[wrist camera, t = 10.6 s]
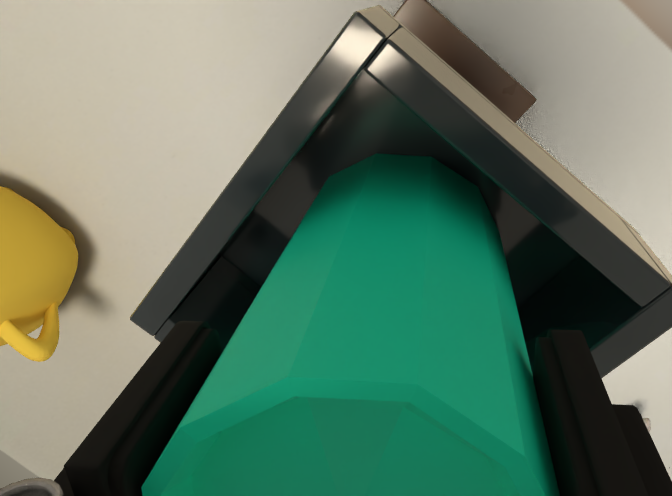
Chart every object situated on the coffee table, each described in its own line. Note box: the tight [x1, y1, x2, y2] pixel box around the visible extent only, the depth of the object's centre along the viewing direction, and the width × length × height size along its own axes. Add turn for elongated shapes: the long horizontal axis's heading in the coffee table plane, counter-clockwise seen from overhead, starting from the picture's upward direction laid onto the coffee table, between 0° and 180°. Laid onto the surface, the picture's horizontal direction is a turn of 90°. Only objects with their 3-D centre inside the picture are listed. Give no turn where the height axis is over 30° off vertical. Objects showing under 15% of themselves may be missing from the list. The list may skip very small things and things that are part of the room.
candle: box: [141, 153, 560, 496], centre depth 12 cm, size 6×6×12 cm
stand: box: [394, 0, 536, 123], centre depth 28 cm, size 10×10×22 cm
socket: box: [130, 5, 672, 378], centre depth 16 cm, size 10×10×5 cm
